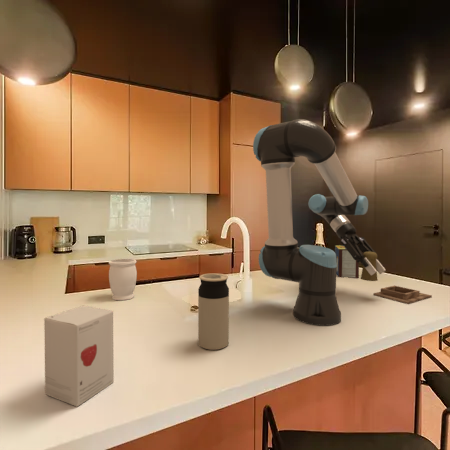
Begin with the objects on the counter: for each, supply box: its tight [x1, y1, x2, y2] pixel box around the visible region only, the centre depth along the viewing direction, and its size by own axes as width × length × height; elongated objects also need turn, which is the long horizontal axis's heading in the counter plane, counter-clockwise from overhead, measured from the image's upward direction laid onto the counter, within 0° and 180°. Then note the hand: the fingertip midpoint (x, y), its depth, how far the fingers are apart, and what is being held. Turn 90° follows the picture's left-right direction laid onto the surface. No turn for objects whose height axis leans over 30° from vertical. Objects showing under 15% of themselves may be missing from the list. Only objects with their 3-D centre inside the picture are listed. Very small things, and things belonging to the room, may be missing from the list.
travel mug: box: [197, 272, 230, 351], centre depth 78 cm, size 8×8×18 cm
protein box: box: [334, 245, 360, 279], centre depth 165 cm, size 10×15×16 cm
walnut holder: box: [373, 285, 433, 305], centre depth 124 cm, size 18×14×3 cm
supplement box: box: [43, 304, 115, 408], centre depth 58 cm, size 9×9×15 cm
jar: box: [108, 258, 138, 301], centre depth 120 cm, size 11×10×15 cm
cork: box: [360, 251, 379, 282], centre depth 118 cm, size 6×6×11 cm
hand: (378, 272), depth 115 cm, fingers closed on cork, 5 cm apart
